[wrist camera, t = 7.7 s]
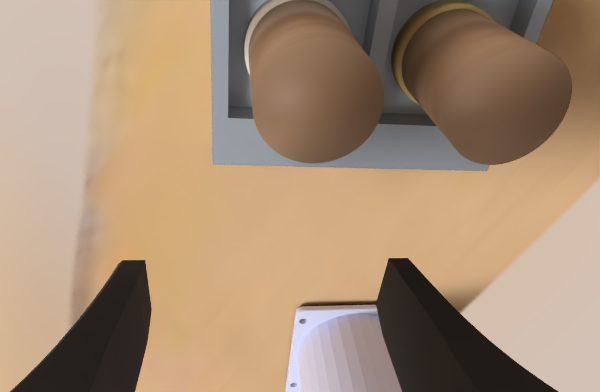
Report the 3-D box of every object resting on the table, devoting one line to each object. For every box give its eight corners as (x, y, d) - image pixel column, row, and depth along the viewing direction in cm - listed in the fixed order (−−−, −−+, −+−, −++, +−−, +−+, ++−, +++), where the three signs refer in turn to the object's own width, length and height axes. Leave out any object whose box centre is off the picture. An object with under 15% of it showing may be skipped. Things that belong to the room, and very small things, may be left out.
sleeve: (471, 102, 21) (543, 170, 16) (382, 97, 20) (428, 167, 15) (504, 3, 18) (600, 47, 14) (403, -6, 18) (467, 38, 13)
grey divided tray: (468, 148, 23) (486, 171, 22) (214, 141, 22) (212, 164, 20) (545, -73, 18) (579, -68, 16) (211, -112, 16) (208, -110, 14)
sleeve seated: (340, 98, 20) (374, 169, 15) (242, 93, 19) (245, 166, 14) (356, -6, 18) (403, 38, 13) (245, -15, 17) (249, 27, 12)
